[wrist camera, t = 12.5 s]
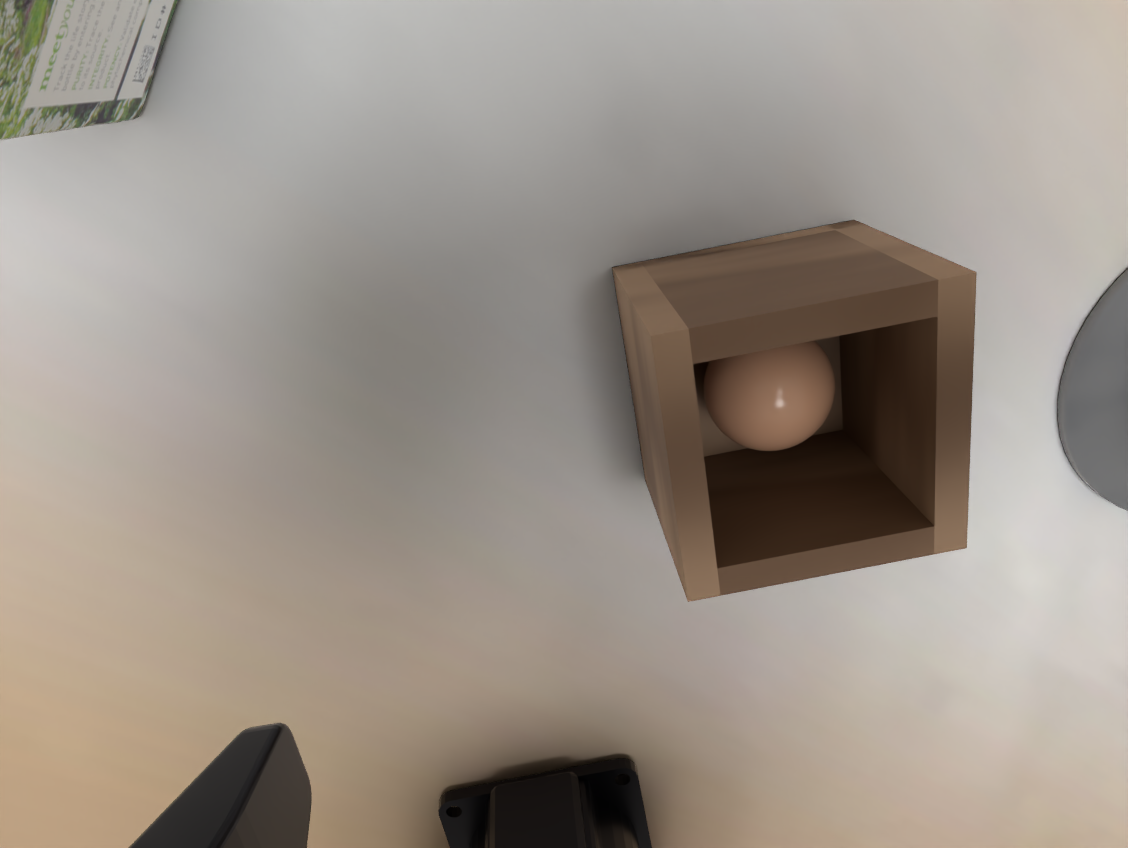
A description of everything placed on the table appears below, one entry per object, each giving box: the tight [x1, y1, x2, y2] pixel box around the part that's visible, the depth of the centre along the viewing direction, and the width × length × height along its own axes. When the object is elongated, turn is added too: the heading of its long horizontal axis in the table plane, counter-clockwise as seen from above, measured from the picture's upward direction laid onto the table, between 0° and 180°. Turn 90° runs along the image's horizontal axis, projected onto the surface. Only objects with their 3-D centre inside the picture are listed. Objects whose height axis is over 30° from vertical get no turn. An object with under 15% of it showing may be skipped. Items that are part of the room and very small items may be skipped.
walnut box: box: [612, 220, 976, 602], centre depth 18 cm, size 6×6×6 cm
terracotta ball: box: [703, 341, 835, 451], centre depth 19 cm, size 3×3×3 cm
